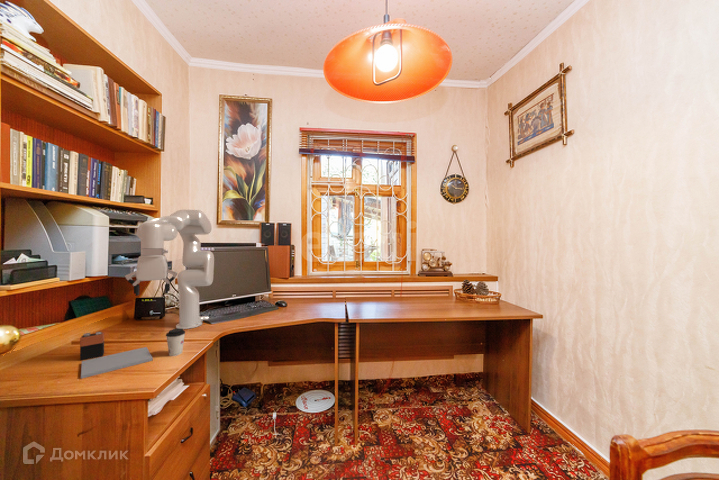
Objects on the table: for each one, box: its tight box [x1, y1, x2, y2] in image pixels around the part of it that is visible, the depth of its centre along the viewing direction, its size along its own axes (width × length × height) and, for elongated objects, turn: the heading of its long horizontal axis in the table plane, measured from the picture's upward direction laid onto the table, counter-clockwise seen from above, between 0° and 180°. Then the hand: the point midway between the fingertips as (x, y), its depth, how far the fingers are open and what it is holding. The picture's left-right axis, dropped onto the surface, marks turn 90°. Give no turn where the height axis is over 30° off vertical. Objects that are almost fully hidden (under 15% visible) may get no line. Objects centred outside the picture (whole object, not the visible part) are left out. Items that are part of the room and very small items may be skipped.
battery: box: [79, 331, 105, 361], centre depth 111 cm, size 4×7×10 cm, turn 130°
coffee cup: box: [165, 328, 186, 357], centre depth 114 cm, size 7×7×10 cm
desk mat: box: [80, 346, 154, 379], centre depth 106 cm, size 20×16×1 cm
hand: (152, 294), depth 111 cm, fingers open, 9 cm apart
